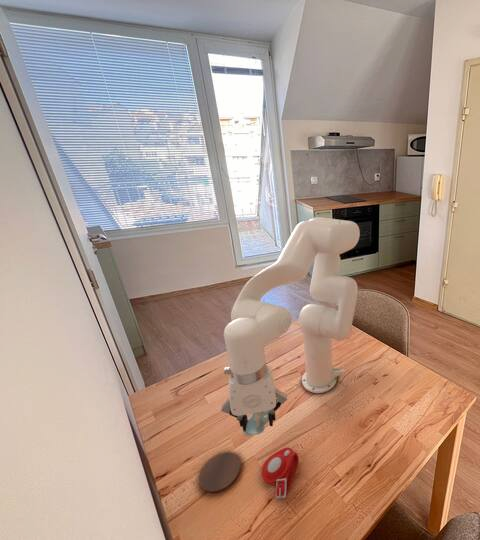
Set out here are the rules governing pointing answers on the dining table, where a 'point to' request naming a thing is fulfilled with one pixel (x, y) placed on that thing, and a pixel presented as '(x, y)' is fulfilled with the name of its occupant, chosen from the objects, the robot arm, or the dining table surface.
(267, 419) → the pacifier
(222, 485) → the dark brown coaster
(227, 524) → the dining table surface
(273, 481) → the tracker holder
